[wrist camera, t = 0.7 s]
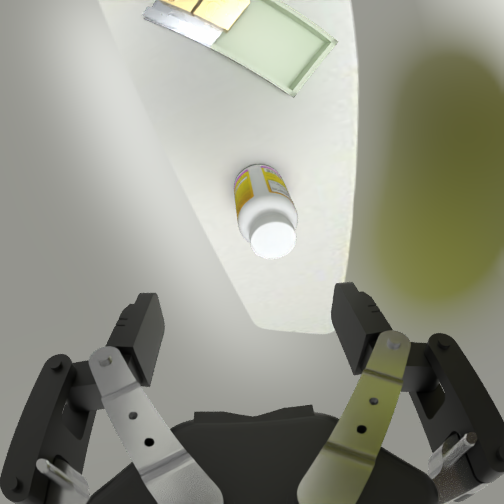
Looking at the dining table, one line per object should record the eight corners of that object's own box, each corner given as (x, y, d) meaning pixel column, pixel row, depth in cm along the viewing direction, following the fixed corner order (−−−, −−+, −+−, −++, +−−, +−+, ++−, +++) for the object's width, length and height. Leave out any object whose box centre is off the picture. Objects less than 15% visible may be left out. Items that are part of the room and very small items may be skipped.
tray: (210, 48, 26) (209, 47, 24) (254, -8, 22) (256, -13, 20) (288, 94, 31) (293, 97, 29) (329, 42, 26) (338, 41, 24)
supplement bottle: (238, 210, 41) (245, 271, 31) (229, 167, 36) (233, 219, 26) (284, 202, 40) (306, 260, 30) (280, 159, 36) (304, 207, 26)
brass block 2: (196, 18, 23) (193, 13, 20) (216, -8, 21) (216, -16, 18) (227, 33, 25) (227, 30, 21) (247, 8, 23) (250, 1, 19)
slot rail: (146, 19, 23) (140, 17, 21) (188, -37, 18) (186, -43, 16) (210, 48, 26) (209, 47, 24) (254, -8, 22) (256, -13, 20)
